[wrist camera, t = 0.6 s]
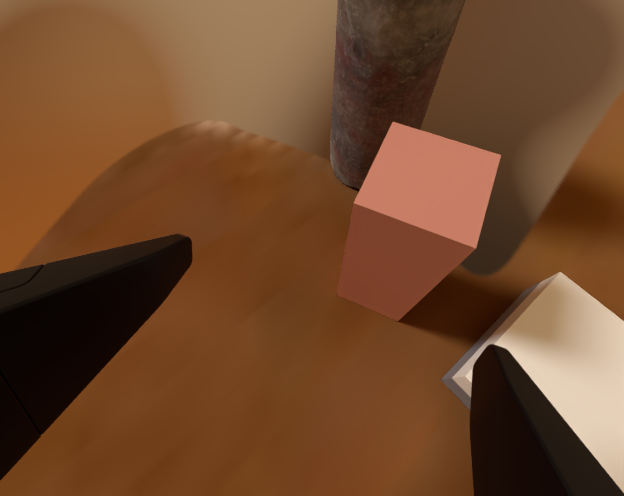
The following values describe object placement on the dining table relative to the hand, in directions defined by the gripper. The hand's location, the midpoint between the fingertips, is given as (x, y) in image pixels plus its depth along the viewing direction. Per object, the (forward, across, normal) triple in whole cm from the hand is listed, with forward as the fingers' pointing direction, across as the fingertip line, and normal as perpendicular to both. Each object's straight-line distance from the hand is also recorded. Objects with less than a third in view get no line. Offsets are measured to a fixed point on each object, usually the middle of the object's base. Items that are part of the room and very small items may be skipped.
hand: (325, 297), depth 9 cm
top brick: (+14, -2, +9) cm, 17 cm away
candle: (+24, +2, +3) cm, 24 cm away
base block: (+11, -15, +11) cm, 22 cm away
